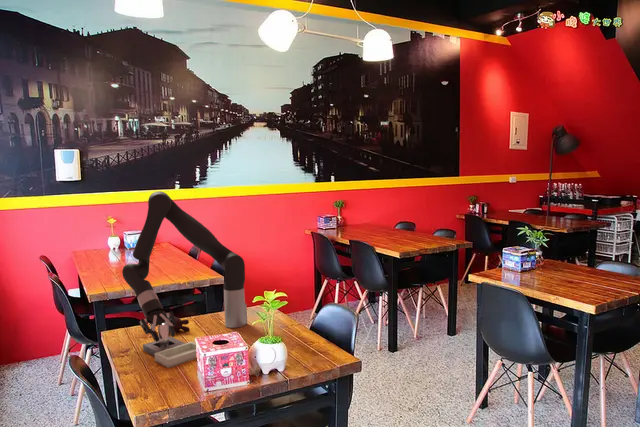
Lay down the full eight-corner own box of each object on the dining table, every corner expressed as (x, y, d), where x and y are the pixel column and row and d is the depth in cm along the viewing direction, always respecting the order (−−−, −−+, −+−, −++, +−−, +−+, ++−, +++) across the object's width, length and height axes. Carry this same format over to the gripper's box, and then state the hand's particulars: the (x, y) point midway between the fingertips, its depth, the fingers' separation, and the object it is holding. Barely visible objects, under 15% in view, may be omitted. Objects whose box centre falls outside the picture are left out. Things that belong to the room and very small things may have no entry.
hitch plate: (170, 342, 199) (170, 336, 198) (185, 349, 190) (185, 343, 190) (143, 350, 190) (142, 344, 190) (157, 358, 182) (157, 352, 182)
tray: (192, 348, 191) (191, 341, 191) (206, 354, 184) (205, 347, 184) (154, 361, 179) (154, 353, 179) (168, 368, 172) (167, 360, 172)
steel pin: (166, 347, 193) (165, 321, 192) (171, 349, 190) (170, 323, 189) (157, 350, 190) (155, 323, 189) (162, 352, 187) (160, 325, 186)
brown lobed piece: (152, 320, 208) (185, 323, 207) (160, 311, 215) (192, 314, 214) (154, 333, 211) (186, 337, 209) (161, 324, 218) (192, 327, 216)
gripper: (135, 302, 188) (151, 338, 181) (168, 294, 199) (185, 328, 192) (130, 312, 193) (146, 348, 185) (163, 304, 203) (179, 338, 196)
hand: (165, 338), depth 189 cm, fingers open, 6 cm apart
